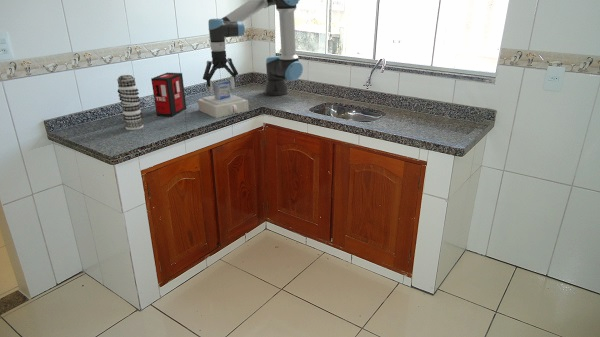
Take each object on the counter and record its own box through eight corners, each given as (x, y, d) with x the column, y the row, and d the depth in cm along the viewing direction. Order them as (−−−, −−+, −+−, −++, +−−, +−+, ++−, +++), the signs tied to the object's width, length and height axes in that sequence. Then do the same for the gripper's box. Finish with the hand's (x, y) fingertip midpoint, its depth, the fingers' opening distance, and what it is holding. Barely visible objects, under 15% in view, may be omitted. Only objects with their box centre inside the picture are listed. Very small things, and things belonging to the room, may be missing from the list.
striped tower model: (123, 131, 192) (113, 78, 182) (125, 125, 200) (115, 74, 190) (143, 129, 194) (134, 77, 184) (145, 123, 202) (136, 73, 192)
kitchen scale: (230, 104, 236) (229, 91, 233) (249, 111, 221) (248, 98, 218) (198, 110, 224) (197, 97, 221) (217, 118, 210) (216, 105, 207)
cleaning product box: (172, 107, 229) (167, 72, 221) (186, 108, 228) (182, 73, 219) (157, 116, 214) (151, 78, 206) (172, 117, 213) (167, 79, 205)
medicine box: (219, 99, 216) (218, 83, 212) (214, 98, 219) (212, 82, 215) (230, 97, 222) (229, 81, 218) (225, 95, 224) (223, 80, 221)
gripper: (199, 53, 200) (204, 95, 209) (242, 48, 214) (245, 87, 223) (193, 52, 205) (198, 93, 214) (235, 47, 220) (238, 85, 228)
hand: (222, 90), depth 219 cm, fingers open, 13 cm apart
